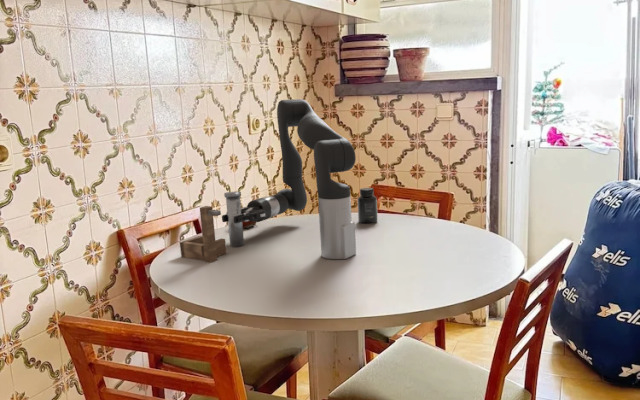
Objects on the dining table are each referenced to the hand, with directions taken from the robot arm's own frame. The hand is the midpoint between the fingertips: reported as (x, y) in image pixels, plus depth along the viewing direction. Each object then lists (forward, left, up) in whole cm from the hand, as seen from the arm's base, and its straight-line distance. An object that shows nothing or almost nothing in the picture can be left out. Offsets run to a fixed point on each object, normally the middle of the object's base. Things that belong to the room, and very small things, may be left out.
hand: (229, 219), depth 176 cm
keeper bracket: (-1, +10, -9) cm, 14 cm away
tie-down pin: (0, -3, -9) cm, 9 cm away
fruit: (+14, -24, -9) cm, 29 cm away
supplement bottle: (-24, -46, -9) cm, 52 cm away
